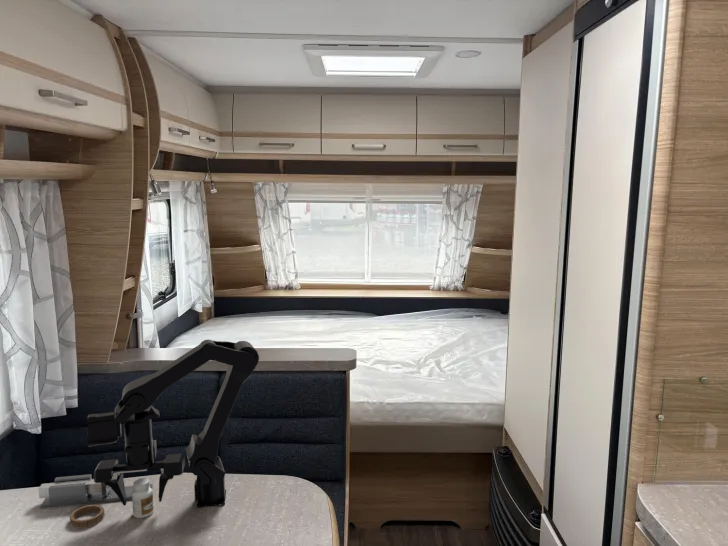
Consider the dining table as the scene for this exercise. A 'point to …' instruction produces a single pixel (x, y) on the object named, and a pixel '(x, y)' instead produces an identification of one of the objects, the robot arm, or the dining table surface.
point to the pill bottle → (142, 498)
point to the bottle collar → (87, 522)
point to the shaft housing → (79, 493)
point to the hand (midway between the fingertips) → (142, 502)
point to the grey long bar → (91, 485)
